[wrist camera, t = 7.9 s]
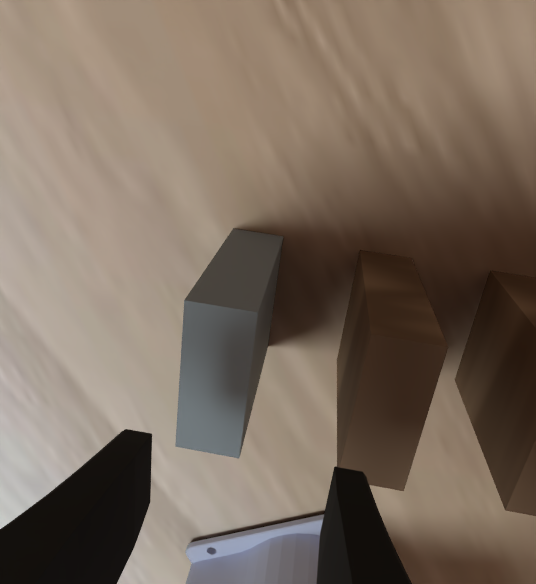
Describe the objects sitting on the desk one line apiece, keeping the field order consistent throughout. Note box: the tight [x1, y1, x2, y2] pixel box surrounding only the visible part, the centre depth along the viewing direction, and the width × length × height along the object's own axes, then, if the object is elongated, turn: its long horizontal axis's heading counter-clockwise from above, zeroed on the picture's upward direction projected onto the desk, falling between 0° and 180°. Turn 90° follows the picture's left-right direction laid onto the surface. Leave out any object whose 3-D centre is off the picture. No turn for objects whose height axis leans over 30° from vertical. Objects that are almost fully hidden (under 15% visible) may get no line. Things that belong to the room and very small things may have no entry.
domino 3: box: [455, 271, 536, 516], centre depth 17 cm, size 2×5×7 cm, turn 173°
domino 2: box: [337, 250, 448, 491], centre depth 17 cm, size 2×5×7 cm, turn 173°
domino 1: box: [176, 229, 283, 458], centre depth 18 cm, size 2×5×7 cm, turn 173°
